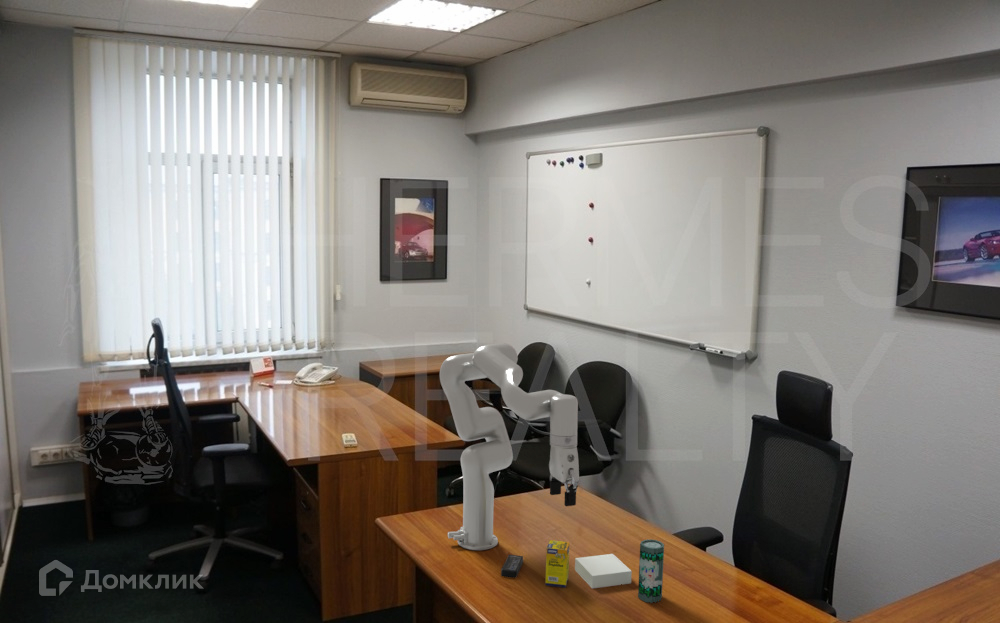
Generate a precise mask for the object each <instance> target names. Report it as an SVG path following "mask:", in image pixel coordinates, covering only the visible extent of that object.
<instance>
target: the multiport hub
mask: <svg viewBox="0 0 1000 623" xmlns="http://www.w3.org/2000/svg"><path fill="white" fill-rule="evenodd" d="M523 564H524V556H523V555H516V554H508V555H507V557H506V559H505V562H504V564H503V565H502V567H501V572H500V576H501V577H502V576H504V578H511V579H512V578H513V579H516V578H517V577H518V575H519V573H520V571H521V568H522V566H523Z"/></svg>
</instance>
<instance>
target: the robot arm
mask: <svg viewBox="0 0 1000 623" xmlns="http://www.w3.org/2000/svg"><path fill="white" fill-rule="evenodd" d="M518 360H519V358H518V353H517V351H516V349H515V348H514V347H513V346H512V345H511V344H508V343H503V342H501V343H493V344H485V345H482V346H479V347H478V348H477V349H476V350H475V351H474V352H469V353H460V354H455V355H451V356H449V357H447V358H446V359H445V360H443V362H442V364H441V366H440V369H439V382H440V385H441V387H442V390H443V393H444V394H445V396H446V399H447V400H448V404H449V408H450V412H451V414H452V418H453V421H454V426H455V428H456V429H455V430H456V432H457V434H458V437H459V438H460V439H461V440H462V441H463V442H472V441H478V440H481V439H485V441H483V442H478V443H475V444H472V445H470V446H468V447H466V448H465V449H464V450H463V451H462V453H461V455H460V466H461V472H462V482H463V484H462V485H463V490H462V491H463V493H462V494H463V498H462V499H463V500H462V501H463V503H462V504H463V505H462V526H460V528H459V529H458V530H457V531H448V532H447V538H448V539H453V541H457V543H458V546H460V547H462V548H463V549H467V550H470V551H486V550H490V549H493V548H494V547H496V546H498V544H499V543H498V542H499V540H498V537H497V536H496V535H495V534H494V507H495V506H494V502H495V501H494V498H495V497H494V496H495V490H494V484H493V481H492V480H491V478H490V476H489V475H490V474H491V473H493V472H497V471H501V470H504V469H507V468H508V467H510V465H511V464H512V462H513V458H514V456H513V455H514V454H513V450H512V449H513V448H512V444H511V441H510V437H509V434H508V430H507V428H506V424H505V421H504V418H503V416H502V414H501V413H500V412H499V410H498V409H496V408H494V407H493V406H492V407H491V406H485V407H484V406H483V407H479V405H478V402H477V398H476V395H475V394H474V392H473V390H472V389H471V388H470V387H469V386H468V385H467V384H466V383H465V382H466V381H467V382H468V381H474V380H481V379H486V378H487V379H489V380H491V382H492V383H494V384H495V385H496V386H497V387H499V388H500V393H501V397H502V399H503V402H504V403H505V406H506V407H507V408H508V409H509V410H511V412H513V413H514V414H515V415H517V417H519V418H520V419H523V420H525V421H535V420H539V419H544V418H550V420H549V425H550V426H549V427H550V428H549V429H550V430H549V446H550V453H549V454H550V455H549V462H548V469H549V471H548V473H549V494H550V496H556V495H557V496H558V495H561V494H562V484H564V489H565V491H564V500H563V501H564V503H563V504H564V506H565V507H572V506H576V505H577V492H578V487H579V486H578V484H579V479H580V471H579V470H580V468H579V467H580V466H579V453H578V447H577V446H578V420H579V419H578V417H579V416H578V411H579V404H578V402H579V401H578V398H577V397H576V396H574V395H572V394H564V393H561V392H559V391H558V390H553V389H546V390H539V391H535V392H533V391H532V392H526V391H524V390H523V389H522V388H521V387H519V385H520V384H521V382H522V380H523V376H524V372H523V368H522V366H520V365H519V364H517V363H518Z"/></svg>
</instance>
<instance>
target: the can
mask: <svg viewBox="0 0 1000 623" xmlns="http://www.w3.org/2000/svg"><path fill="white" fill-rule="evenodd" d="M664 558H665V544H664V542H662V541H661V540H657V539H648V538H646V539H643V540H641V541H640V544H639V562H638V563H639V566H638V567H639V568H638V588H637V589H638V591H637V598H638V599H639V600H641V601H642V602H644V603H649V602H650V604H653V602H655V603H656V602H657V601H658V602H657V603H660V602H661V601H662V599H661V598H663V580H664V579H663V578H664V561H665V560H664ZM659 600H660V601H659Z"/></svg>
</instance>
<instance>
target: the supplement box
mask: <svg viewBox="0 0 1000 623" xmlns="http://www.w3.org/2000/svg"><path fill="white" fill-rule="evenodd" d="M570 544H571V543H570V541H562V540H561V541H560V540H551V539H550V540H549V541H548V543H547V545H546V548H545V549H546V550H545V552H546V554H545V582H544V584H545V586H549V587H556V588H564V589H565V588H567V583H568V580H569V573H570V570H569V568H570Z"/></svg>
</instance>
